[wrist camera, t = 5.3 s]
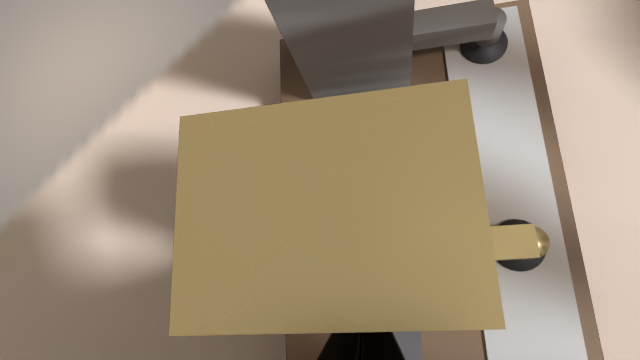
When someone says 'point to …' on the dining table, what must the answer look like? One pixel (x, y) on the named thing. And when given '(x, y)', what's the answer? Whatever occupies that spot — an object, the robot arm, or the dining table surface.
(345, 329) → the leg
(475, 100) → the gauge board
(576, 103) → the dining table surface
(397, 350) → the robot arm
